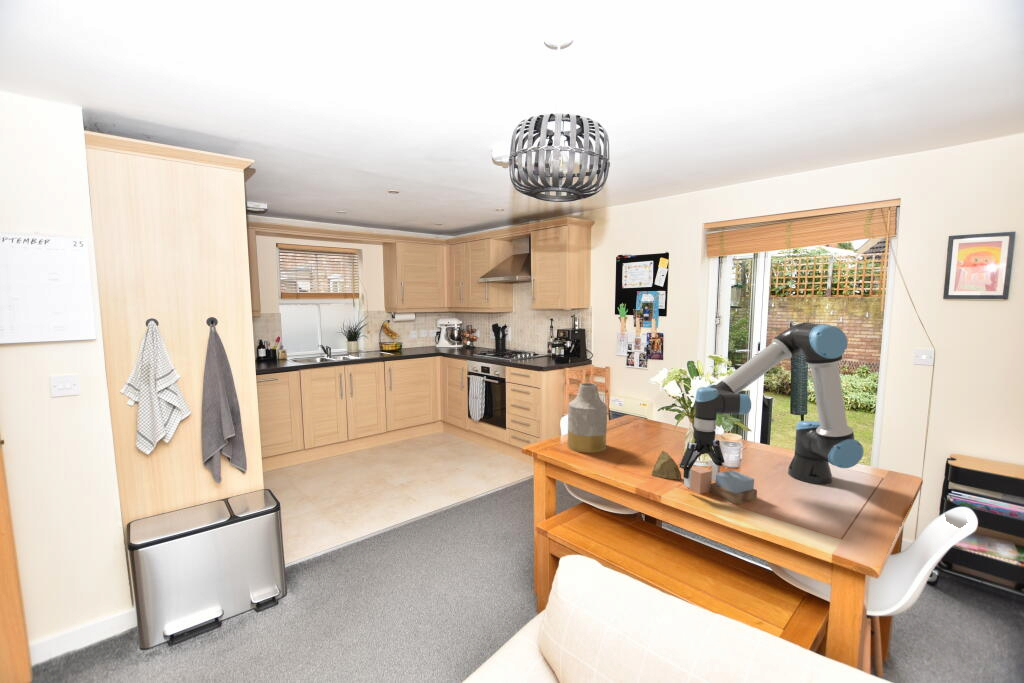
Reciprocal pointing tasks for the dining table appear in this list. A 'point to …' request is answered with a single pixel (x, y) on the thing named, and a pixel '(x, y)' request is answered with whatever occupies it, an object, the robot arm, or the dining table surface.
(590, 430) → the vase
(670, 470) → the rock
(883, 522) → the dining table surface
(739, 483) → the tower top
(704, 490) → the block
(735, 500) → the tower base
